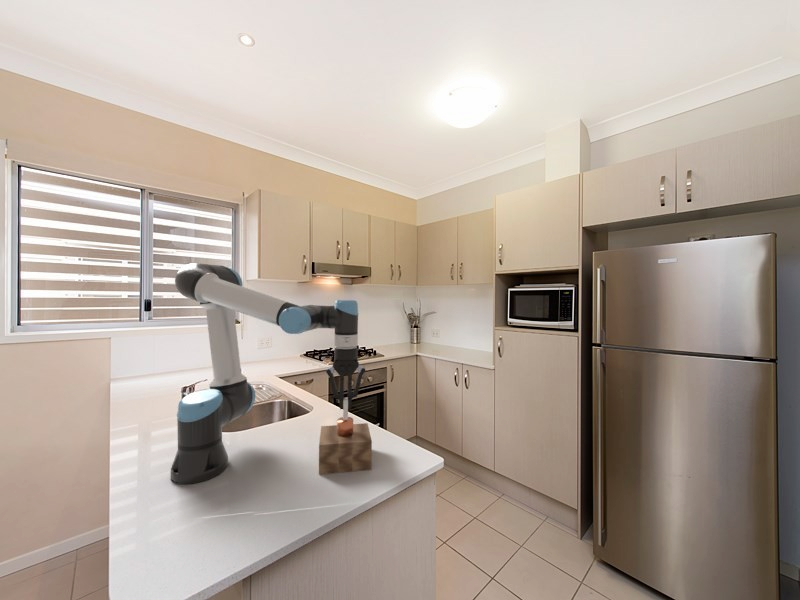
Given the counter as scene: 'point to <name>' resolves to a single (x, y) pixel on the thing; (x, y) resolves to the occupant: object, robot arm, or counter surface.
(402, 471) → the counter surface
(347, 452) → the hitch block
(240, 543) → the counter surface
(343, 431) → the copper cylinder with shaft
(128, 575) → the counter surface
